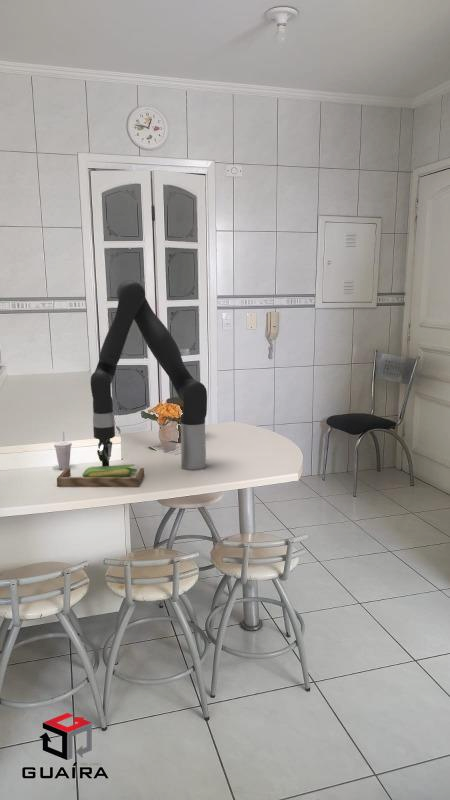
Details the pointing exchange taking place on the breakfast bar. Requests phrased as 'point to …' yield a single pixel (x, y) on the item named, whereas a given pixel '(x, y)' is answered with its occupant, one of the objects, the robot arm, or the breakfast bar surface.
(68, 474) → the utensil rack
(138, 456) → the breakfast bar surface
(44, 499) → the breakfast bar surface
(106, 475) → the edible corn
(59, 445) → the smoothie
